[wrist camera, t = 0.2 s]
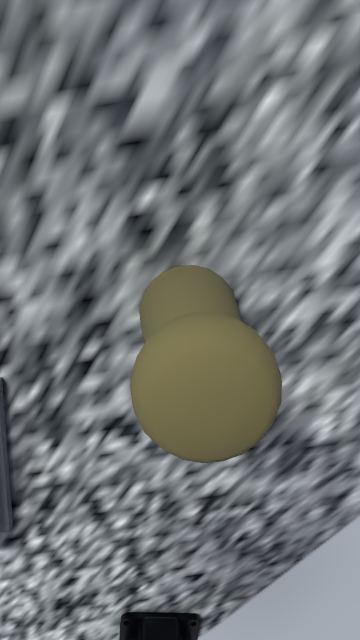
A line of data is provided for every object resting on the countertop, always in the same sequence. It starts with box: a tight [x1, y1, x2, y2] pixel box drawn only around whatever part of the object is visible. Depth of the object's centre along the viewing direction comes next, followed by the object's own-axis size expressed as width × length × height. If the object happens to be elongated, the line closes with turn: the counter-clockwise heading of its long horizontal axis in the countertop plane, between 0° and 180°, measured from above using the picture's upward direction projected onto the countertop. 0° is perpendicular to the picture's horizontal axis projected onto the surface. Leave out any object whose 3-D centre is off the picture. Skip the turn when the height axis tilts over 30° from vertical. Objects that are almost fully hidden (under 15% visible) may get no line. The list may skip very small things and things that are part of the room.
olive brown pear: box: [130, 265, 282, 463], centre depth 15 cm, size 6×6×11 cm
